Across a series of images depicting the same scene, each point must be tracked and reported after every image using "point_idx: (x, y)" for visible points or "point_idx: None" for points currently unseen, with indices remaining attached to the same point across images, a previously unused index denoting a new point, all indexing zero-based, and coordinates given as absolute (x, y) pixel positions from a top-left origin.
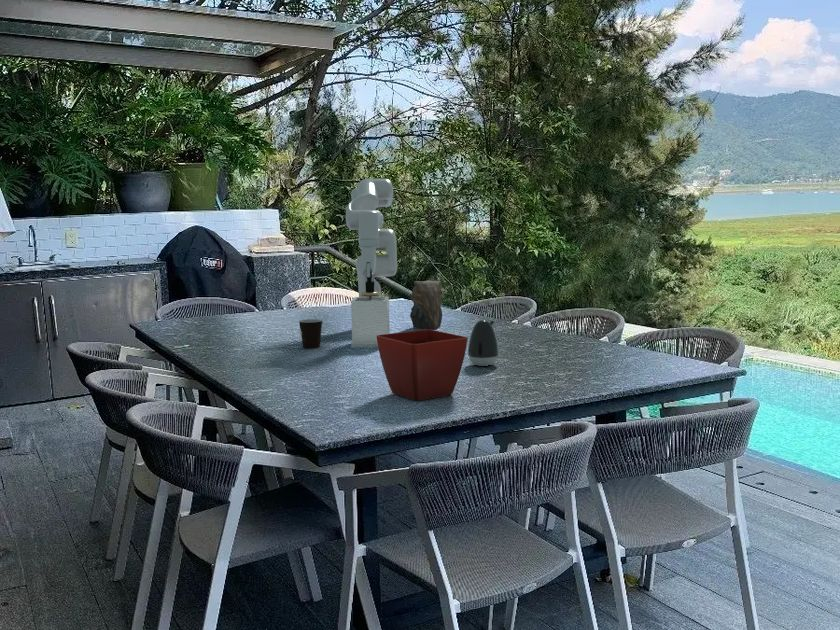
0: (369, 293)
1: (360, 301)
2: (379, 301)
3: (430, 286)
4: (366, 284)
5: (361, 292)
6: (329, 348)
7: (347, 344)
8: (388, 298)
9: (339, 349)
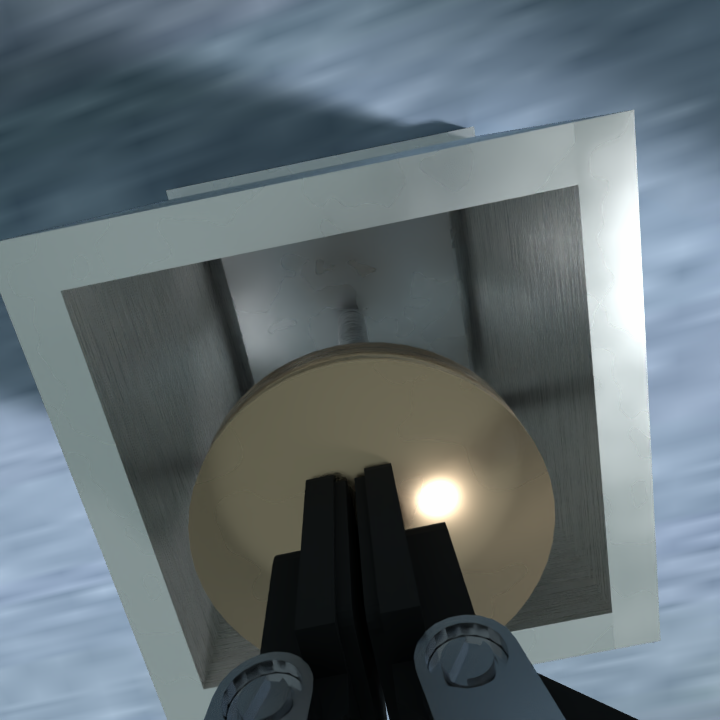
0: (199, 567)
1: (49, 401)
2: (144, 650)
3: None
4: (302, 601)
5: (287, 392)
6: (104, 4)
7: (325, 105)
8: (576, 643)
9: (82, 114)
